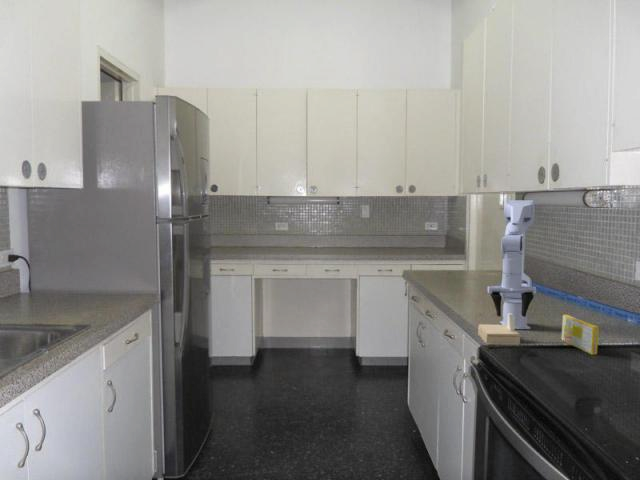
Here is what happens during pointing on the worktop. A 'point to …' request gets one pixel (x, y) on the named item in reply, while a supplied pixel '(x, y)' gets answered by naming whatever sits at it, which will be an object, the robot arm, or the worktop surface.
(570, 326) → the candy box
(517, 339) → the beige shallow box
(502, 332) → the lid
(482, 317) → the worktop surface
